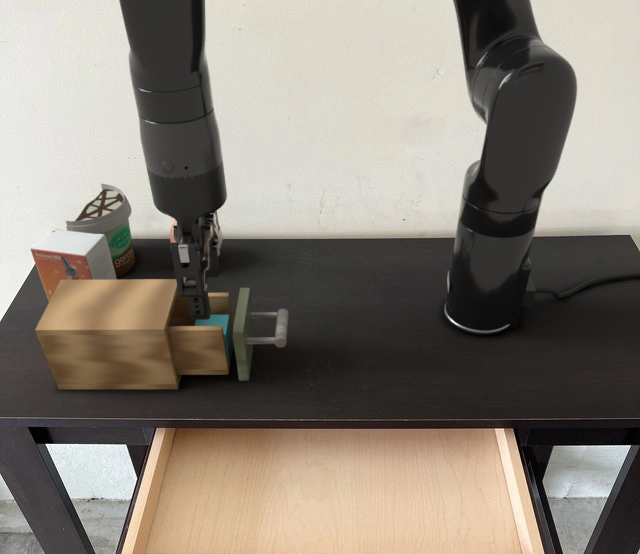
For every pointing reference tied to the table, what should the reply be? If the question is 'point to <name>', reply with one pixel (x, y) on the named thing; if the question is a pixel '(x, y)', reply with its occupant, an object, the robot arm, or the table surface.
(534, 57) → the robot arm
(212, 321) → the block
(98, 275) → the small box
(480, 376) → the table surface
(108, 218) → the food container
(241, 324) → the wooden drawer
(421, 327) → the table surface
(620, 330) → the table surface
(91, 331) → the wooden drawer cabinet
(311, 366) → the table surface
